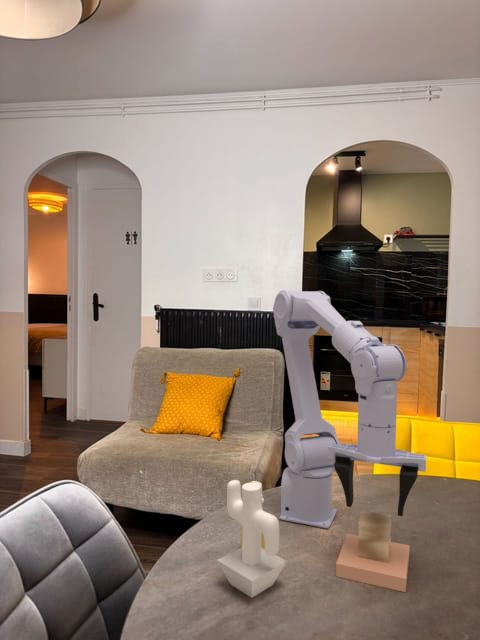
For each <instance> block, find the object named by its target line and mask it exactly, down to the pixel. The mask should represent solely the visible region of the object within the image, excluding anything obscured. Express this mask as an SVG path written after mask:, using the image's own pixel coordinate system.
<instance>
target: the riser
mask: <svg viewBox="0 0 480 640" xmlns="http://www.w3.org/2000/svg"><path fill="white" fill-rule="evenodd" d="M340 549H341V550H340V552H339V554H338V557H337V559H336V562H335V563H336V564H335V577H337V578H341V579H344V580H345V579H346V580H349V581H355V582H360V583H363V584H368V585H372V586H376V587H379V588H380V587H381V588H386V589H390V590H393V591H399V592H403V593H406V592H407V582H408V574H409V573H408V571H409V561H410V545H409V544H404V543H398V542H393V541H391V548H390V555H389V561H388V563H385V562H380V561H375V560H370V559H365V558H360V557H358V535H357V534H352V533H347V534H346V536H345V539H344V541H343V544H342V547H341V548H340Z"/></svg>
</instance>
